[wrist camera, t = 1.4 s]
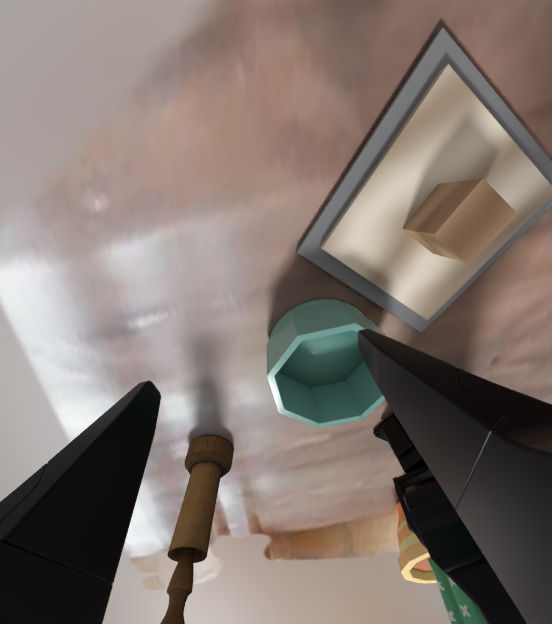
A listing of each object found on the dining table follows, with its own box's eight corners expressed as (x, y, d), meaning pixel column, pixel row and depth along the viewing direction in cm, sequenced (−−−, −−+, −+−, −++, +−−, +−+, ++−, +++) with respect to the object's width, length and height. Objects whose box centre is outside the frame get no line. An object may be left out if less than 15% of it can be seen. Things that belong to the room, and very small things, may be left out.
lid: (545, 192, 19) (628, 188, 15) (422, 316, 24) (457, 341, 19) (439, 70, 15) (508, 17, 11) (319, 247, 20) (334, 258, 16)
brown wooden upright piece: (180, 442, 32) (91, 687, 16) (219, 429, 31) (168, 673, 15) (204, 467, 35) (151, 697, 18) (241, 455, 34) (219, 685, 17)
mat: (563, 186, 19) (571, 186, 19) (418, 330, 25) (421, 333, 25) (436, 33, 15) (442, 27, 14) (296, 251, 21) (296, 252, 20)
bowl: (392, 329, 25) (427, 363, 20) (328, 396, 29) (342, 439, 24) (307, 277, 22) (321, 300, 17) (249, 360, 26) (245, 400, 21)
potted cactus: (377, 529, 46) (483, 834, 24) (378, 490, 40) (527, 861, 17) (452, 518, 46) (633, 821, 23) (466, 476, 39) (738, 844, 17)
